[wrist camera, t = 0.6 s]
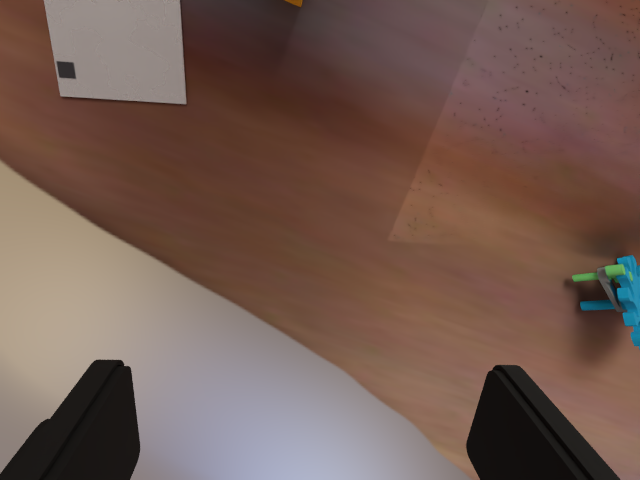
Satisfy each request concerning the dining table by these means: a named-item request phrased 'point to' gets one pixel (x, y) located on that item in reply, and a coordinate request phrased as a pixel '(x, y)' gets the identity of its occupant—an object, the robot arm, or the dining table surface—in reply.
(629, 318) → the gear
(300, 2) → the pipe clamp
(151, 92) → the door panel
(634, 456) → the dining table surface
